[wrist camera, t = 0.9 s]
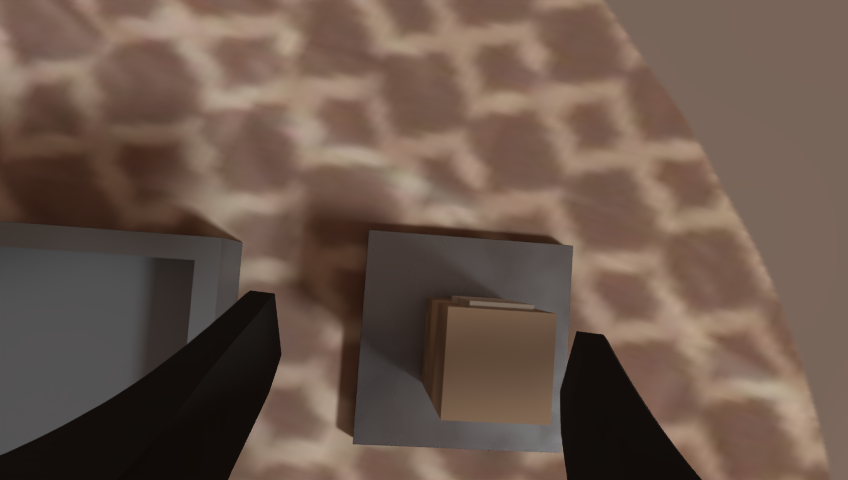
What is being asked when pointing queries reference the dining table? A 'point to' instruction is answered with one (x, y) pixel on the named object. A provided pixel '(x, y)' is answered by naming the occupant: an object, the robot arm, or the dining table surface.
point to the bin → (97, 315)
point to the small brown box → (489, 360)
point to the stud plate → (405, 332)
